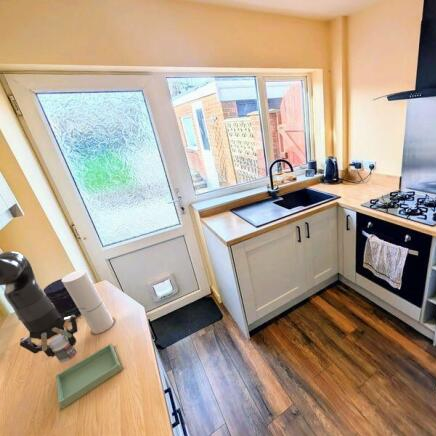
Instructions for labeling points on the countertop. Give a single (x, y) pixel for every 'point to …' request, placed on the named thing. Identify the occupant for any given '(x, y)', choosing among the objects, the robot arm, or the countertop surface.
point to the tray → (86, 375)
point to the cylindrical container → (88, 301)
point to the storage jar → (61, 299)
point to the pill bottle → (62, 349)
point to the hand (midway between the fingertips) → (63, 349)
